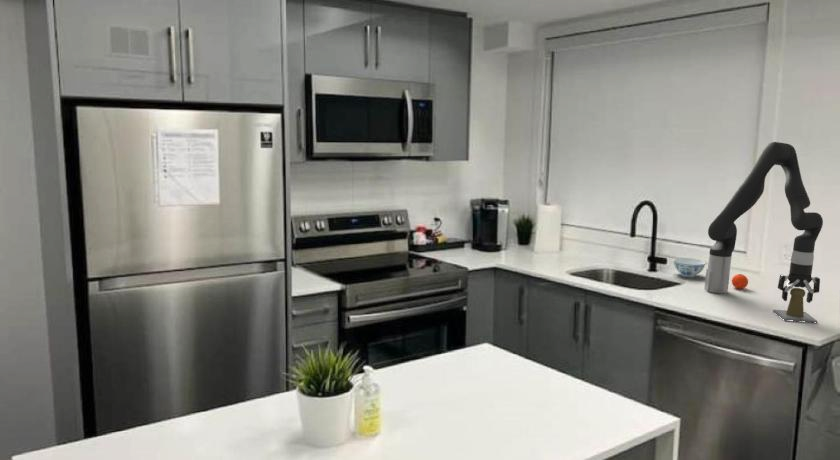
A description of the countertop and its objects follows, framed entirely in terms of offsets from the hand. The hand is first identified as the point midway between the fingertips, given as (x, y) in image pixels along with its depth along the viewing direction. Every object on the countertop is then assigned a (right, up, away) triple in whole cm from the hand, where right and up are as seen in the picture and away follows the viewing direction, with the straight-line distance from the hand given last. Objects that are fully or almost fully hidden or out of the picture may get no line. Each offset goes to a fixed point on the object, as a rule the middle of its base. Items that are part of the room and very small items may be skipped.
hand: (796, 301), depth 243 cm
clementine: (0, +1, +44) cm, 44 cm away
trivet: (0, -7, +1) cm, 7 cm away
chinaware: (-15, +5, +66) cm, 67 cm away
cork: (0, -6, +1) cm, 6 cm away
